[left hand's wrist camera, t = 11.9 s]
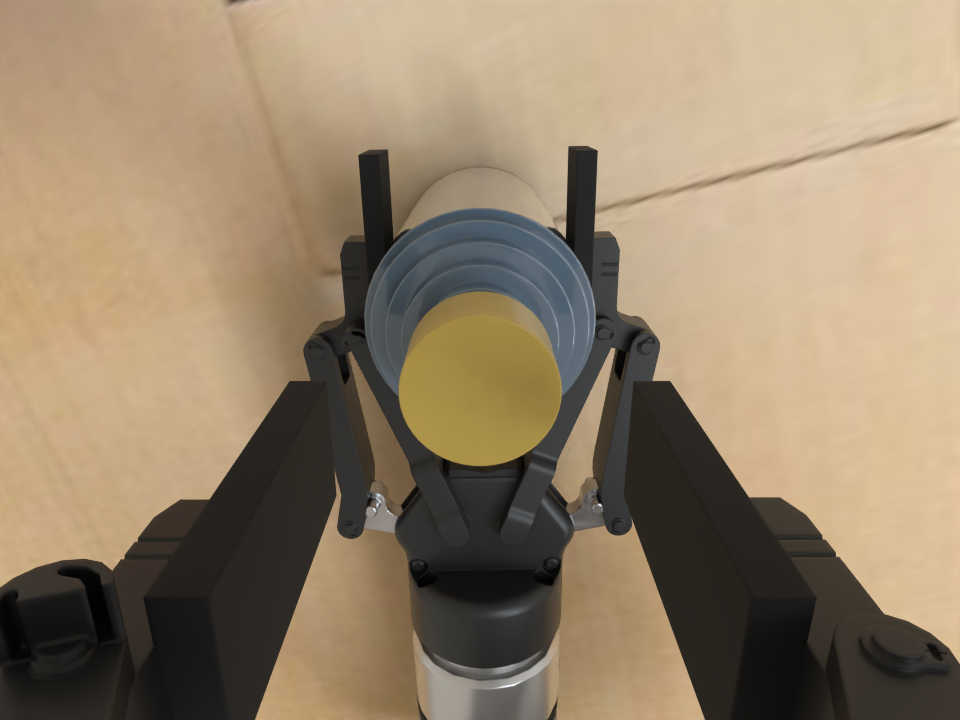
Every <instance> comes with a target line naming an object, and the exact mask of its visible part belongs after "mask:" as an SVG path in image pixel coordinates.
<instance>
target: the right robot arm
mask: <svg viewBox="0 0 960 720" xmlns="http://www.w3.org/2000/svg"><path fill="white" fill-rule="evenodd" d="M597 153H598V151H597V150H595V149H593V148H590V147H588V146H569V149H568V184H567V220H566V240H567V242H568V244H569V245H570V247H571V249H572V250H573V252H574V253H575V255H576V257H577V258H578V260H579V262H580V263H581V265H582V267H583V269H584V271H585V273H586V275H587V277H588V280H589V283H590V286H591V289H592V292H593V297H594V302H595V313H596V324H595V335H594V339H593V344H592V348H591V351H590V354H589V356H588V359H587V362H586V364H585V366H584V367H583V369H582V371H581V373H580V375H579V376H578V378H577V379H576V380H575V382H574V383H573V385H572V386H571V387H570V388H569V389H568V390H567V391H566V393H565V394H564V395H563V396H562V397H561V404H560V409H559V412H558V415H557V418H556V420H555V422H554V424H553V426H552V428H551V429H550V430H549V432H548V433H547V435H546V436H545V437H544V438H543V439H542V440H541V441H540V442H539V444H537V445H536V446H535V447H534V448H533V449H531V450H530V451H528V452H527V453H525V454H524V455H522V456H520V457H518V458H516V459H514V460H511V461H508V462H505V463H501V464H496V465H489V466H471V465H463V464H460V463H456V462H452V461H450V460H447V459H444V458H442V457H441V456H439V455H437V454H435V453H434V452H432V451H431V450H429V449H428V448H427V447H425V446H424V445H423V444H422V443H421V442H420V441H419V440H418V439H417V438H416V437H415V435H414V434H413V433H412V431H411V430H410V428H409V427H408V425H407V423H406V421H405V419H404V417H403V414H402V411H401V407H400V402H399V396H398V395H397V394H396V393H395V392H394V391H393V390H392V389H391V388H390V387H389V385H388V384H387V383H386V382H385V380H384V379H383V377H382V376H381V374H380V372H379V371H378V369H377V367H376V365H375V363H374V361H373V359H372V356H371V353H370V350H369V347H368V343H367V338H366V332H365V316H364V315H365V305H366V298H367V294H368V290H369V286H370V283H371V281H372V278H373V276H374V273H375V271H376V270H377V268H378V266H379V264H380V262H381V261H382V259H383V257H384V256H385V254H386V252H387V251H388V249H389V248H390V246H391V244H392V243H393V225H392V209H391V193H390V177H389V161H388V150H368V151H366V152H364V153H362V154H359V155H358V156H359V169H360V181H361V194H362V207H363V220H364V233H365V235H363V236H350V237H349V238H348V239H347V240H346V241H345V242H344V244H343V247H342V251H341V254H340V258H341V268H342V278H343V291H344V302H345V316H343V317H341V318H339V319H336V320H334V321H325V322H322V323H321V324H320V325H319V326H318V327H317V328H316V330H315V331H314V333H313V334H312V335H311V337H310V338H309V340H308V341H307V342H306V344H305V346H304V357H305V360H306V364H307V368H308V372H309V375H310V379H311V381H327V392H328V404H329V415H330V427H331V438H332V450H333V462H334V468H335V472H336V476H337V480H338V483H339V487H340V491H341V494H342V496H341V503H340V510H339V517H338V525H337V528H338V531H339V533H340V534H341V535H342V536H343V537H345V538H348V539H354V538H357V537H359V536H360V535H361V534H362V532H363V529H370V530H377V531H383V532H389V533H395V536H396V538H397V540H398V542H399V543H400V545H401V546H402V547H403V549H404V550H405V552H406V555H407V559H408V570H409V585H410V600H411V616H412V624H413V627H414V631H413V647H414V659H415V671H416V684H417V699H418V707H419V720H556V708H557V696H558V689H559V656H560V628H559V624H560V617H561V588H562V558H563V553H564V550H565V548H566V546H567V545H568V543H569V542H570V540H571V539H572V537H573V534H574V531H579V530H584V529H589V528H595V527H600V526H605V525H606V528H607V530H608V531H609V532H610V533H611V534H613V535H623V534H626V533H627V532H628V531H629V530H630V529H631V527H632V519H631V514H630V512H629V509H628V506H627V503H626V501H625V498H624V485H625V473H626V462H627V450H628V438H629V427H630V415H631V404H632V392H633V381H652V380H653V376H654V371H655V367H656V363H657V358H658V354H659V350H660V342H659V340H658V338H657V337H656V335H655V334H654V333H653V331H652V330H651V329H650V327H649V326H648V325H647V323H646V322H645V321H644V320H643V319H642V318H640V317H637V316H628V315H625V314H622V313H620V312H618V311H617V290H618V272H619V254H620V249H619V247H618V244H617V241H616V238H615V237H614V236H613V235H612V234H611V233H610V232H609V231H605V232H594V224H595V200H596V177H597ZM611 347H613V348H616V349H615V354H614V359H613V364H612V369H611V373H610V378H609V383H608V388H607V393H606V397H605V402H604V407H603V412H602V417H601V421H600V426H599V431H598V436H597V441H596V445H595V450H594V456H593V476H594V478H593V477H589V478H587V479H586V480H585V482H584V483H583V484H582V486H581V488H580V495H579V497H578V498H577V499H576V500H575V501H574V502H572V503H569V504H568V503H567V501H566V500H565V499H564V498H563V497H562V495H561V494H560V493H559V492H558V490H557V489H556V488H555V487H554V486H553V484H552V483H551V481H552V479H553V477H554V474H555V471H556V465H557V461H558V458H559V456H560V454H561V452H562V450H563V448H564V445H565V443H566V441H567V439H568V437H569V435H570V433H571V431H572V429H573V427H574V424H575V422H576V420H577V418H578V416H579V414H580V412H581V410H582V408H583V406H584V404H585V401H586V399H587V397H588V395H589V393H590V391H591V389H592V387H593V385H594V383H595V381H596V378H597V376H598V374H599V372H600V370H601V368H602V366H603V364H604V362H605V360H606V357H607V355H608V353H609V351H610V349H611ZM350 351H352V353H353V355H354V357H355V359H356V361H357V363H358V365H359V367H360V369H361V371H362V372H363V374H364V376H365V378H366V380H367V382H368V384H369V386H370V388H371V390H372V392H373V394H374V396H375V398H376V399H377V401H378V403H379V405H380V407H381V409H382V411H383V413H384V415H385V417H386V419H387V421H388V423H389V424H390V426H391V428H392V430H393V432H394V434H395V436H396V438H397V440H398V442H399V444H400V446H401V448H402V449H403V451H404V453H405V455H406V457H407V459H408V461H409V464H410V469H411V473H412V476H413V478H414V480H415V482H416V484H417V485H416V486H415V487H414V489H413V490H412V491H411V493H410V494H409V495H408V497H407V498H406V499H405V501H404V502H403V503H402V505H401V506H399V505H396V504H394V503H393V502H392V501H391V500H390V498H389V495H388V490H387V488H386V487H385V486H384V484H383V482H382V481H380V480H375V481H374V478H375V463H374V458H373V453H372V449H371V445H370V441H369V437H368V433H367V429H366V424H365V420H364V416H363V412H362V408H361V404H360V400H359V396H358V392H357V388H356V383H355V379H354V375H353V371H352V367H351V363H350V359H349V355H348V352H350Z"/></svg>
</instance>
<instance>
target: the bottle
mask: <svg viewBox="0 0 960 720" xmlns="http://www.w3.org/2000/svg"><path fill="white" fill-rule="evenodd" d="M468 292H492V293H498V294H501V295H505V296H507V297H510V298H512V299H515V300H516V301H518V302H520V303H521V304H523V305H524V306H526V307H527V308H528V309H529V310H531V311H532V312H533V313H534V314H535V315H536V316H537V318H538V319H539V320H540V322H541V323H542V324H543V326H544V328H545V330H546V332H547V334H548V336H549V339H550V342H551V345H552V349H553V352H554V356H555V359H556V362H557V366H558V369H559V373H560V378H561V385H562V396H563V395H564V394H565V393H566V391H567V390H568V389H569V388H570V387H571V386H572V385H573V383H574V382H575V380H576V379H577V378H578V376H579V375H580V373H581V371H582V369H583V367H584V366H585V364H586V362H587V359H588V356H589V354H590V351H591V348H592V344H593V339H594V335H595V324H596V313H595V302H594V297H593V292H592V289H591V286H590V283H589V280H588V277H587V275H586V273H585V271H584V269H583V267H582V265H581V263H580V262H579V260H578V258H577V257H576V255H575V253H574V252H573V250H572V249H571V247H570V245H569V244H568V242H567V240H566V239H565V237H564V236H563V234H562V232H561V231H560V229H559V228H558V226H557V224H556V223H555V221H554V219H553V218H552V216H551V215H550V213H549V211H548V210H547V208H546V207H545V205H544V203H543V202H542V200H541V199H540V197H539V196H538V195H537V194H536V192H535V191H534V190H533V189H532V188H531V187H530V186H529V185H527V184H526V183H525V182H524V181H522V180H521V179H519V178H518V177H516V176H514V175H512V174H510V173H507V172H505V171H501V170H498V169H493V168H487V167H475V168H466V169H462V170H459V171H456V172H453V173H451V174H448V175H446V176H445V177H443V178H441V179H439V180H438V181H437V182H435V183H434V184H433V185H431V186H430V187H429V188H428V190H427V191H426V192H425V193H424V194H423V195H422V196H421V198H420V199H419V200H418V202H417V204H416V205H415V207H414V209H413V210H412V212H411V213H410V215H409V217H408V218H407V220H406V222H405V223H404V225H403V226H402V228H401V230H400V231H399V233H398V235H397V236H396V238H395V239H394V241H393V243H392V244H391V246H390V248H389V249H388V251H387V252H386V254H385V256H384V257H383V259H382V261H381V262H380V264H379V266H378V268H377V270H376V271H375V273H374V276H373V278H372V281H371V283H370V286H369V290H368V294H367V298H366V305H365V315H364V316H365V332H366V338H367V343H368V347H369V350H370V353H371V356H372V359H373V361H374V363H375V365H376V367H377V369H378V371H379V372H380V374H381V376H382V377H383V379H384V380H385V382H386V383H387V384H388V385H389V387H390V388H391V389H392V390H393V391H394V392H395V393H396V394H397V395H398V396H399V380H400V375H401V371H402V368H403V364H404V361H405V357H406V354H407V350H408V347H409V343H410V340H411V337H412V335H413V332H414V330H415V328H416V327H417V325H418V323H419V322H420V321H421V319H422V318H423V317H424V316H425V315H426V314H427V313H428V312H429V311H430V310H431V309H432V308H433V307H435V306H436V305H438V304H439V303H440V302H442V301H444V300H446V299H448V298H450V297H453V296H456V295H459V294H463V293H468Z"/></svg>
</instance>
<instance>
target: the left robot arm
mask: <svg viewBox="0 0 960 720" xmlns="http://www.w3.org/2000/svg"><path fill="white" fill-rule="evenodd" d="M335 498H336V485H335V473H334V462H333V450H332V438H331V427H330V415H329V404H328V392H327V381H290V382H289V383H288V385H287V386H286V388H285V389H284V391H283V392H282V393H281V395H280V396H279V398H278V399H277V401H276V402H275V404H274V405H273V407H272V408H271V410H270V411H269V413H268V414H267V416H266V417H265V419H264V420H263V422H262V423H261V424H260V426H259V427H258V429H257V430H256V432H255V433H254V435H253V436H252V438H251V439H250V441H249V442H248V444H247V445H246V447H245V448H244V450H243V451H242V453H241V454H240V455H239V457H238V458H237V460H236V461H235V463H234V464H233V466H232V467H231V469H230V470H229V472H228V473H227V475H226V476H225V478H224V479H223V481H222V482H221V484H220V485H219V486H218V488H217V489H216V491H215V492H214V494H213V495H212V497H211V498H210V500H179V501H178V502H176V503H175V504H173V505H172V506H170V507H169V508H167V509H166V510H164V511H163V512H161V513H160V514H158V515H157V516H155V517H154V518H153V520H152V521H151V522H150V523H149V525H148V526H147V527H146V528H145V530H144V531H143V532H142V534H141V535H140V536H139V537H138V542H135V543H134V544H133V545H132V546H131V548H130V549H129V550H128V551H127V553H126V554H125V558H124V559H121V560H120V562H119V563H118V564H117V566H116V567H115V568H114V569H113V571H112V570H111V569H109V568H108V567H107V566H106V565H104V564H103V563H102V562H98V561H93V560H88V559H76V560H62V561H58V562H55V563H51V564H47V565H44V566H40V567H37V568H34V569H32V570H30V571H28V572H26V573H24V574H22V575H19V576H17V577H15V578H13V579H12V580H10V581H9V582H7V583H6V584H5V585H3V586H2V587H0V720H255V718H256V715H257V712H258V710H259V707H260V704H261V701H262V699H263V696H264V693H265V690H266V688H267V685H268V682H269V679H270V677H271V674H272V671H273V668H274V666H275V663H276V660H277V657H278V655H279V652H280V649H281V646H282V644H283V641H284V638H285V635H286V633H287V630H288V627H289V624H290V622H291V619H292V616H293V613H294V611H295V608H296V605H297V602H298V600H299V597H300V594H301V591H302V589H303V586H304V583H305V580H306V578H307V575H308V572H309V569H310V567H311V564H312V561H313V558H314V556H315V553H316V550H317V547H318V545H319V542H320V539H321V536H322V534H323V531H324V528H325V525H326V523H327V520H328V517H329V514H330V512H331V509H332V506H333V503H334V501H335ZM624 498H625V501H626V503H627V506H628V509H629V512H630V514H631V517H632V520H633V523H634V525H635V528H636V531H637V534H638V536H639V539H640V542H641V545H642V547H643V550H644V553H645V556H646V558H647V561H648V564H649V567H650V569H651V572H652V575H653V578H654V580H655V583H656V586H657V589H658V591H659V594H660V597H661V600H662V602H663V605H664V608H665V611H666V613H667V616H668V619H669V622H670V624H671V627H672V630H673V633H674V635H675V638H676V641H677V644H678V646H679V649H680V652H681V655H682V657H683V660H684V663H685V666H686V668H687V671H688V674H689V677H690V679H691V682H692V685H693V688H694V690H695V693H696V696H697V699H698V701H699V704H700V707H701V710H702V712H703V715H704V718H705V720H960V664H959V662H958V661H957V659H956V658H955V656H954V655H953V654H952V652H951V651H950V649H949V648H948V647H947V646H945V645H944V644H943V643H942V642H940V641H939V640H938V639H937V638H936V637H934V636H933V635H932V634H931V633H929V632H927V631H925V630H923V629H921V628H919V627H918V626H916V625H914V624H912V623H910V622H908V621H905V620H902V619H898V618H895V617H892V616H889V615H885V614H884V613H883V612H882V611H881V610H880V608H879V607H878V606H877V604H876V603H875V602H874V601H873V599H872V598H871V597H870V596H869V594H868V593H867V592H866V590H865V589H864V588H863V587H862V585H861V584H860V583H859V582H858V580H857V579H856V578H855V576H854V575H853V574H852V573H851V571H850V570H849V569H848V568H847V566H846V565H845V564H844V562H843V561H842V560H841V559H840V557H836V552H835V551H834V550H833V549H832V547H831V546H830V545H829V543H828V542H827V541H826V540H823V539H822V535H821V533H820V532H819V531H818V529H817V528H816V527H815V526H814V524H813V523H812V522H811V521H810V519H809V518H808V517H807V515H805V514H804V513H802V512H801V511H799V510H798V509H796V508H795V507H793V506H792V505H790V504H789V503H787V502H786V501H784V500H783V499H781V498H749V497H748V495H747V494H746V492H745V491H744V489H743V488H742V486H741V485H740V484H739V482H738V481H737V479H736V478H735V476H734V475H733V473H732V472H731V470H730V469H729V467H728V466H727V464H726V463H725V461H724V460H723V458H722V457H721V455H720V454H719V453H718V451H717V450H716V448H715V447H714V445H713V444H712V442H711V441H710V439H709V438H708V436H707V435H706V433H705V432H704V430H703V429H702V427H701V426H700V424H699V423H698V422H697V420H696V419H695V417H694V416H693V414H692V413H691V411H690V410H689V408H688V407H687V405H686V404H685V402H684V401H683V399H682V398H681V396H680V395H679V393H678V392H677V391H676V389H675V388H674V386H673V385H672V383H671V382H670V381H633V392H632V404H631V415H630V427H629V438H628V450H627V462H626V473H625V485H624Z"/></svg>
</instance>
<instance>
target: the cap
mask: <svg viewBox="0 0 960 720" xmlns="http://www.w3.org/2000/svg"><path fill="white" fill-rule="evenodd" d="M561 397H562V385H561V378H560V373H559V369H558V366H557V362H556V359H555V356H554V352H553V349H552V345H551V342H550V339H549V336H548V334H547V332H546V330H545V328H544V326H543V324H542V323H541V322H540V320H539V319H538V318H537V316H536V315H535V314H534V313H533V312H532V311H531V310H529V309H528V308H527V307H526V306H524V305H523V304H521V303H520V302H518V301H516V300H515V299H512V298H510V297H507V296H505V295H501V294H498V293H492V292H468V293H463V294H459V295H456V296H453V297H450V298H448V299H446V300H444V301H442V302H440V303H439V304H438V305H436V306H435V307H433V308H432V309H431V310H430V311H429V312H428V313H427V314H426V315H425V316H424V317H423V318H422V319H421V321H420V322H419V323H418V325H417V327H416V328H415V330H414V332H413V335H412V337H411V340H410V343H409V347H408V350H407V354H406V357H405V361H404V364H403V368H402V371H401V375H400V380H399V402H400V407H401V411H402V414H403V417H404V419H405V421H406V423H407V425H408V427H409V428H410V430H411V431H412V433H413V434H414V435H415V437H416V438H417V439H418V440H419V441H420V442H421V443H422V444H423V445H424V446H425V447H427V448H428V449H429V450H431V451H432V452H434V453H435V454H437V455H439V456H441V457H442V458H444V459H447V460H450V461H452V462H456V463H460V464H463V465H471V466H489V465H496V464H501V463H505V462H508V461H511V460H514V459H516V458H518V457H520V456H522V455H524V454H525V453H527V452H528V451H530V450H531V449H533V448H534V447H535V446H536V445H537V444H539V442H540V441H541V440H542V439H543V438H544V437H545V436H546V435H547V433H548V432H549V430H550V429H551V428H552V426H553V424H554V422H555V420H556V418H557V415H558V412H559V409H560V404H561Z"/></svg>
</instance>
